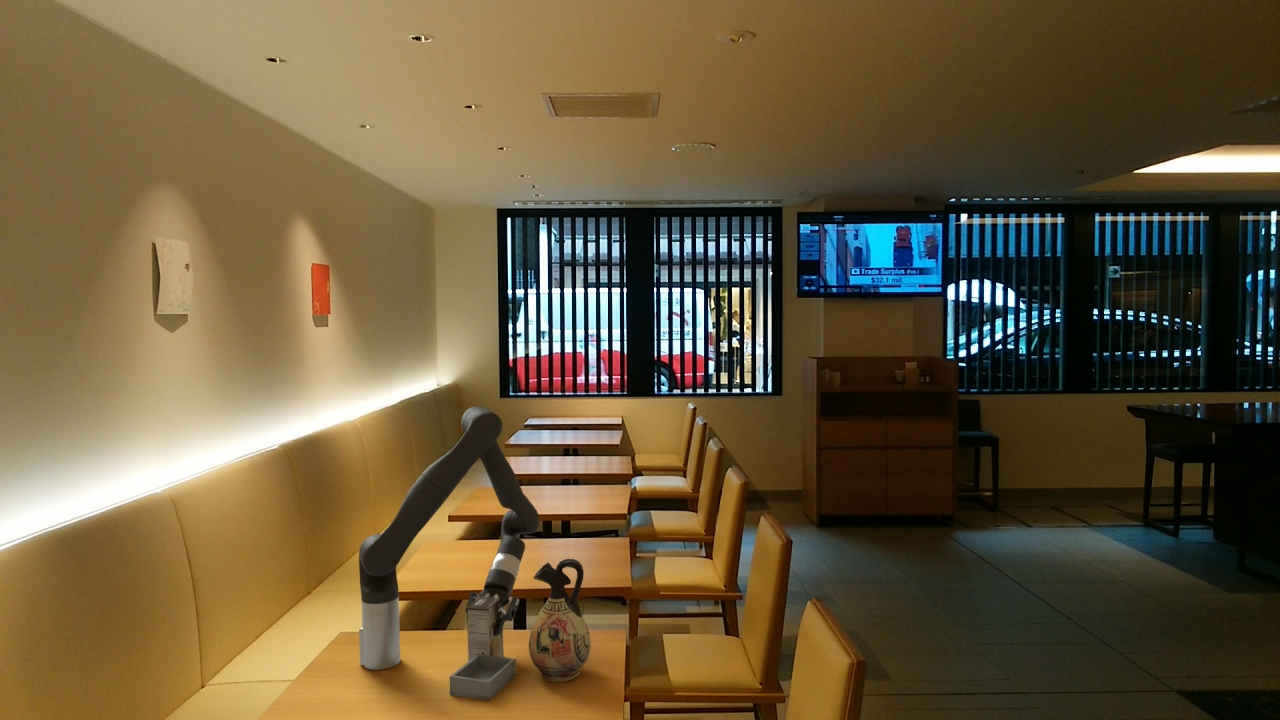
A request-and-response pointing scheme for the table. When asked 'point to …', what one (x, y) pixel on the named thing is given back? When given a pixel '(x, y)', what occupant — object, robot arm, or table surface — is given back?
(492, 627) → the coffee box
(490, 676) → the grey tub
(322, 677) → the table surface
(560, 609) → the ceramic jug
